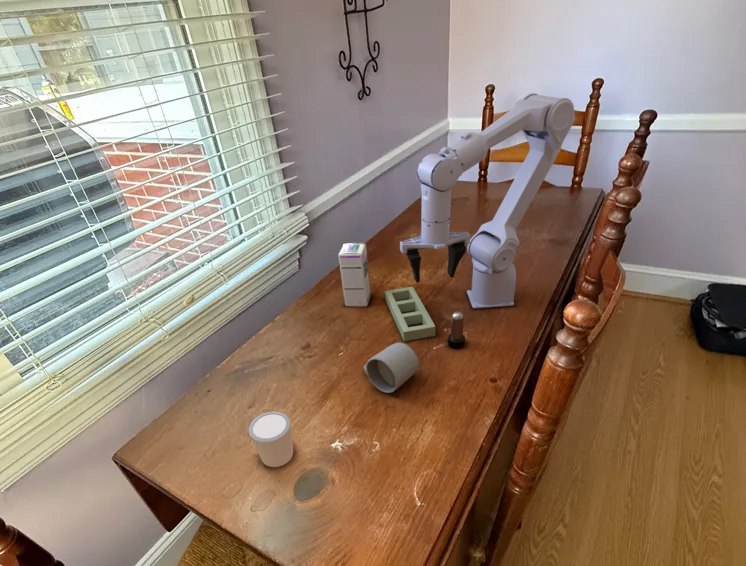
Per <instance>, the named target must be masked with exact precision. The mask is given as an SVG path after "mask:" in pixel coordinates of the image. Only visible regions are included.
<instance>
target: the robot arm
mask: <svg viewBox="0 0 746 566" xmlns="http://www.w3.org/2000/svg"><path fill="white" fill-rule="evenodd" d="M575 121H576V114H575V107H574V103H573V101H572V100H571V99H570V98H568V97H555V96H547V95H541V94H538V93H534V92H531V93H528V94H526V95H525V96H524V97H523V98H521V99H518V100H517V101H516V102H515V103H514V106H513V107H512V108H511V109H509V111H507V112H506V113H505V114H503V115H501V116H500V117H499V118H498V119H497V120H495V121H493V123H491V124H490V125H488V126H487V127H485V128H484V129H483V130H482V131H480V132H479V133H478V132H475V131H470V132H467V131H464V132H463V133H462V134H460V138H459V139H457V140H455V141H454V142H452V143H451V144H450V145H448V146H444V147H442V148H441V149H440V150H439V152H438V153H429V154H427V155H425V156H424V157H423V159H422V160H420V162H419V164H418V167H417V170H415V177H416V179H417V181H418V182H419V183H420V191H421V207H420V209H421V213H420V214H421V215H420V216H421V217H420V218H421V219H420V221H421V223H420V224H421V225H420V228H421V229H420V235H418V236H416V237H413V238H410V239H406V240H400V241H399V250H400V252H401V254H405V255H406V257H407V259H408V262H409V265H410V266H411V270H412V275H413V280H414V281H415V283H420V281H421V273H420V272H421V271H420V270H421V261H422V256H421V255H420V250H427V249H435V250H444V249H446V247H447V254H448V256H447V257H448V259H447V275H448V276H449V277H450V278H455V275H456V271H457V268H458V267H459V263H460V262H461V260H462V259H463V256H465V254H466V253H467V254H468V256H469V257H471V263H472V278H471V289H467V290H466V294H467V296H468V299H469V302H470V305H471V307H472V309H473V310H475V309H486V308H499V307H513V306H515V301H514V300H515V292H516V284H517V270H516V266H515V264H514V263H513V262H514V260H515V257H516V252H517V250H518V247H519V246H520V240H519V237H518V234H517V229H518V227H519V226H520V224H521V221H522V220H523V218H524V216H525V214H526V213H527V211H528V209H529V208H530V206H531V204H532V202H533V200H534V198H535V197H536V195H537V193H538V191H539V189H540V188H541V186H542V184H543V182H544V181H545V179H546V177H547V175H548V174H549V172H550V169H551V168H552V167H553V164H554V162H555V161H556V159H557V157H558V155H559V153H560V152H561V149H562V146H563V143H564V141H565V139H566V138H567V136H568V134H569V132H570V131H571V128H572V127H573V125H574V123H575ZM519 132H522V134H523V136H524V137H525V139H526V141H527V142H528V146H529V151H528V153H527V155H526V157H525V159H524V161H523V162H522V164H521V166H520V168H519V169H518V171H517V173H516V175H515V177H514V179H513V181H512V183H511V185H510V187H509V188H508V190H507V193H506V194H505V195H504V198H503V200H502V201H501V204H500V205H499V207H498V209H497V211H496V213H495V215H494V216H493V218H492V220H490V221H488V222H485V223H483V224H481V225H480V227H479V229H478V230H477V232H476V233H475V234H473V236H471V233H469V232H468V231H464V232H463V231H462V232H461V231H460V232H450V229H451V228H450V227H451V206H452V189H453V188H454V186H455V185H456V184H457V183H458V180H459V178H460V177H461V176H462V175H463V174H464V173H465V172H467V171H468V170H470V169H472V168H473V167H474V166H476V165H478V164H479V163H481V162H482V161H484V160H485V159H486V158H487V155H488V151H489V149H491V148H493V147H495V146H496V145H498V144H501V143H502V142H503V141H506V140H507V139H509V138H511V137H512V136H514V135H516V134H518V133H519ZM496 237H497V238H496ZM466 245H467V246H466Z"/></svg>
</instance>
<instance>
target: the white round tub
mask: <svg viewBox="0 0 746 566" xmlns="http://www.w3.org/2000/svg"><path fill="white" fill-rule="evenodd" d="M291 425H292V424H291V421H290V418H289V416H287V415H286V413H284V412H281V411H268V412H264V413H261V414H259V415H258V416H256V417H255V418H254V419H253V420H252V421H251V422H250V424H249V426H248V433H249V436H250V439H251V441H252V443H253V445H254V447H255V450H256V452H257V453H258V456H259V458H260V460H261V462H262V463H263V465H265V466H267V467H270V468H279V467H283V466H284V465H286V464H287V463H289V462H290V461H291V460H292V458H293V455H294V446H293V435H292V426H291Z"/></svg>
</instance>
